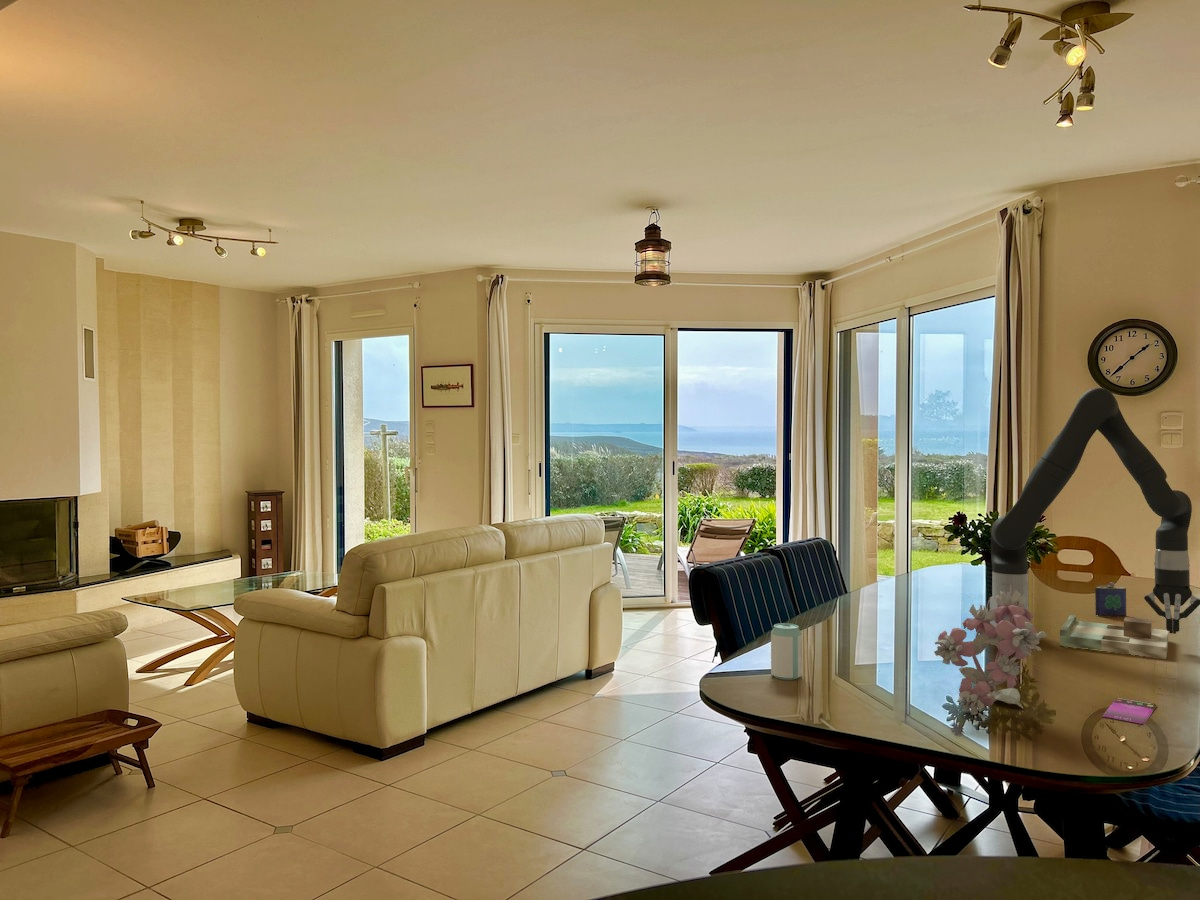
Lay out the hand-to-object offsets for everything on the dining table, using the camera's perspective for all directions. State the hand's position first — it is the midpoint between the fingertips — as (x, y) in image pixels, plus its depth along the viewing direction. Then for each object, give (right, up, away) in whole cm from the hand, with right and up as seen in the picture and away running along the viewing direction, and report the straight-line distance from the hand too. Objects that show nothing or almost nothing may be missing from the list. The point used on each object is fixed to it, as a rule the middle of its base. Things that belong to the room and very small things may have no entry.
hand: (1172, 632), depth 219 cm
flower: (-70, -6, -47) cm, 85 cm away
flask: (+10, -4, +43) cm, 45 cm away
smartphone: (-42, -6, -49) cm, 65 cm away
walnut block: (-6, -2, +4) cm, 8 cm away
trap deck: (-11, -5, +7) cm, 14 cm away
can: (-106, -6, -22) cm, 109 cm away
